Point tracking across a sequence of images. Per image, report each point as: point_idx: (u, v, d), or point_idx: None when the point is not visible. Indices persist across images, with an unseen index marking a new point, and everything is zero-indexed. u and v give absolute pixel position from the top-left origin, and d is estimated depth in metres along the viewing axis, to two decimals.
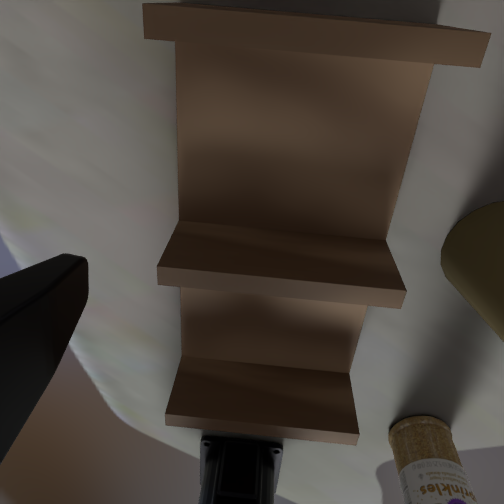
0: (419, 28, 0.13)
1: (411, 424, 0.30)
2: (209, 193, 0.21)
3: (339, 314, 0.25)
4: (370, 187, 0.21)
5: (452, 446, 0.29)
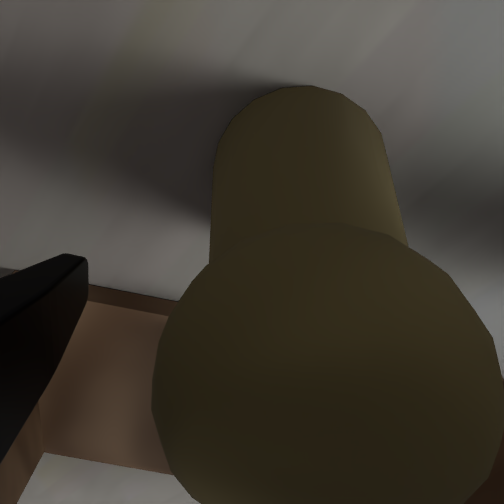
0: None
1: None
2: None
3: None
4: None
5: None
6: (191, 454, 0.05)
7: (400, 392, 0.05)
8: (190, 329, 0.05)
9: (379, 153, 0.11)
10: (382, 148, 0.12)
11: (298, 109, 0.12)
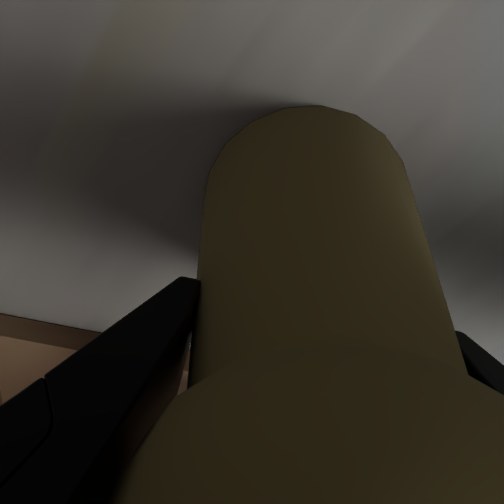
0: None
1: None
2: None
3: None
4: None
5: None
6: None
7: None
8: None
9: (406, 193, 0.09)
10: (407, 183, 0.10)
11: (305, 138, 0.09)
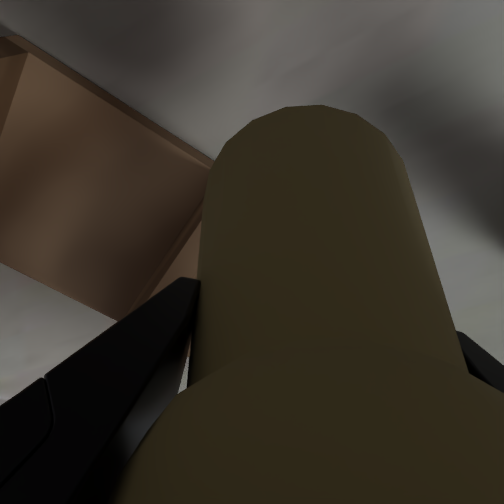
0: None
1: None
2: (103, 289, 0.23)
3: None
4: (148, 163, 0.19)
5: None
6: None
7: None
8: None
9: (406, 192, 0.09)
10: (407, 183, 0.10)
11: (306, 136, 0.09)
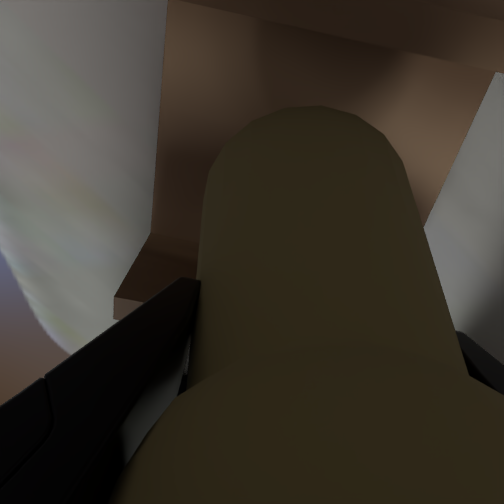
0: None
1: None
2: None
3: None
4: None
5: None
6: None
7: None
8: None
9: (406, 193, 0.09)
10: (407, 183, 0.10)
11: (305, 137, 0.09)
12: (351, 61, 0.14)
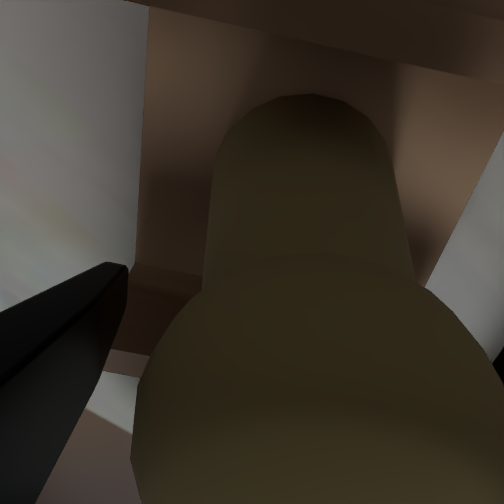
0: None
1: None
2: None
3: (420, 202, 0.14)
4: None
5: None
6: None
7: (396, 460, 0.04)
8: (166, 378, 0.05)
9: (382, 164, 0.11)
10: (386, 158, 0.12)
11: (296, 120, 0.11)
12: (360, 75, 0.12)
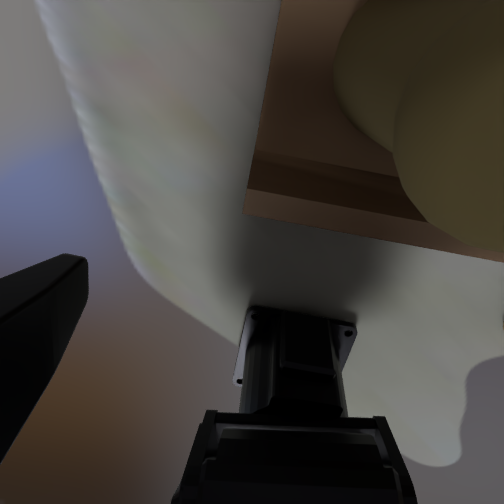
0: None
1: None
2: None
3: None
4: None
5: None
6: (469, 137, 0.07)
7: None
8: (467, 44, 0.07)
9: None
10: None
11: None
12: None
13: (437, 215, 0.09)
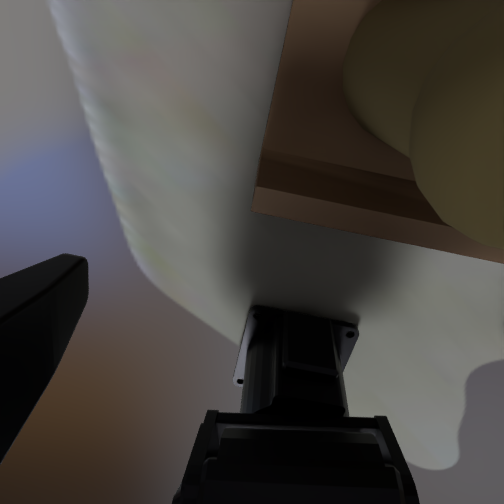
0: None
1: None
2: None
3: None
4: None
5: None
6: (490, 136, 0.07)
7: None
8: (490, 43, 0.07)
9: None
10: None
11: None
12: None
13: (454, 214, 0.09)
